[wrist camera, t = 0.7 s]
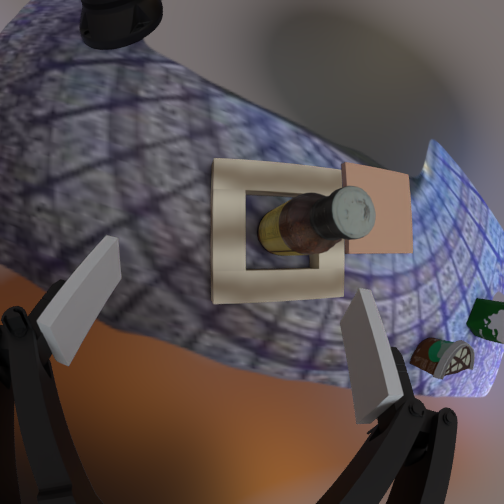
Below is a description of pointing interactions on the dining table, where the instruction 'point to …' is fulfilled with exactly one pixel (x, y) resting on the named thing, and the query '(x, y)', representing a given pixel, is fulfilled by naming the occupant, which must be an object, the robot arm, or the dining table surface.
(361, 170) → the terracotta tile
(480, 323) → the milk carton
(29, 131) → the dining table surface
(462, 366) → the food container
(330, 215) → the sauce bottle
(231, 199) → the bottle stand
